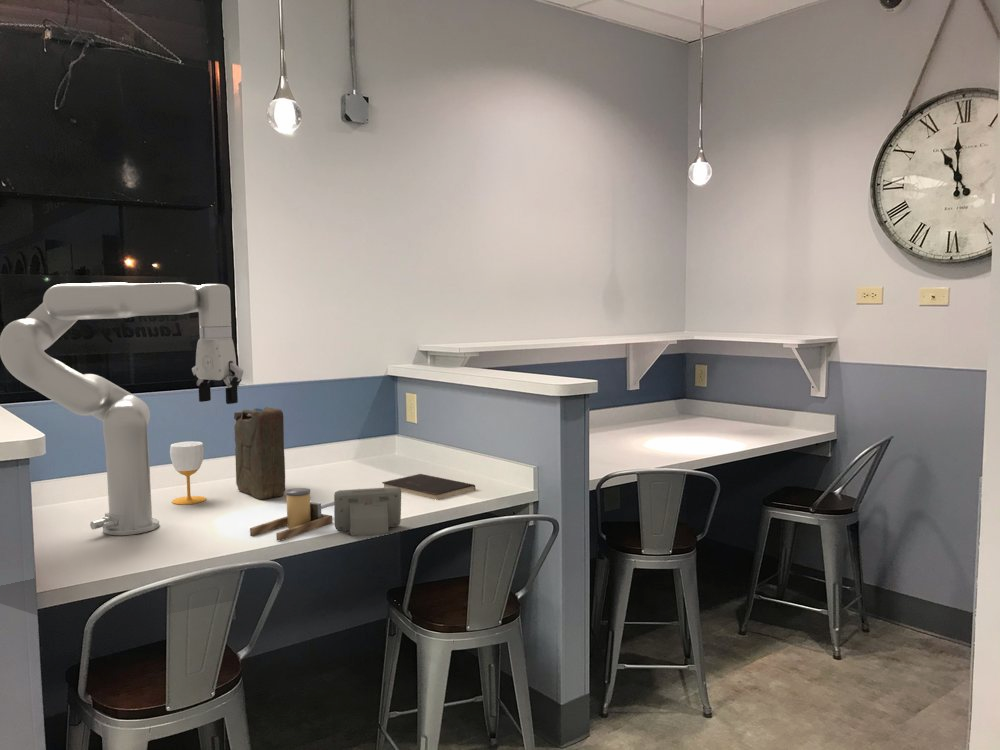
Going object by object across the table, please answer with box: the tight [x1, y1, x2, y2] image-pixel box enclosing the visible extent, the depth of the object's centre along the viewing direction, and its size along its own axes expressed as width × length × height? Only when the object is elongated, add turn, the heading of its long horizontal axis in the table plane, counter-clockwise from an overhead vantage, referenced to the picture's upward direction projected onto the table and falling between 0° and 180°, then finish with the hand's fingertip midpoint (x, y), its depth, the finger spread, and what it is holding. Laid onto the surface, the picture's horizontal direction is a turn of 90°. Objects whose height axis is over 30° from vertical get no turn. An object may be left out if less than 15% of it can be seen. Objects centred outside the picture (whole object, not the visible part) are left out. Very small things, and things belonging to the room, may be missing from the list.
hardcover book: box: [381, 473, 476, 500], centre depth 240 cm, size 16×23×2 cm
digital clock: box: [333, 487, 402, 537], centre depth 197 cm, size 16×9×11 cm, turn 92°
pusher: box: [310, 501, 334, 521], centre depth 208 cm, size 10×7×5 cm
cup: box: [169, 441, 207, 506], centre depth 227 cm, size 9×9×16 cm
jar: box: [285, 487, 311, 529], centre depth 201 cm, size 6×6×9 cm
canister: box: [233, 406, 286, 500], centre depth 235 cm, size 19×8×25 cm, turn 41°
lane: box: [249, 513, 333, 541], centre depth 199 cm, size 18×10×2 cm, turn 150°
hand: (218, 402), depth 204 cm, fingers open, 9 cm apart
